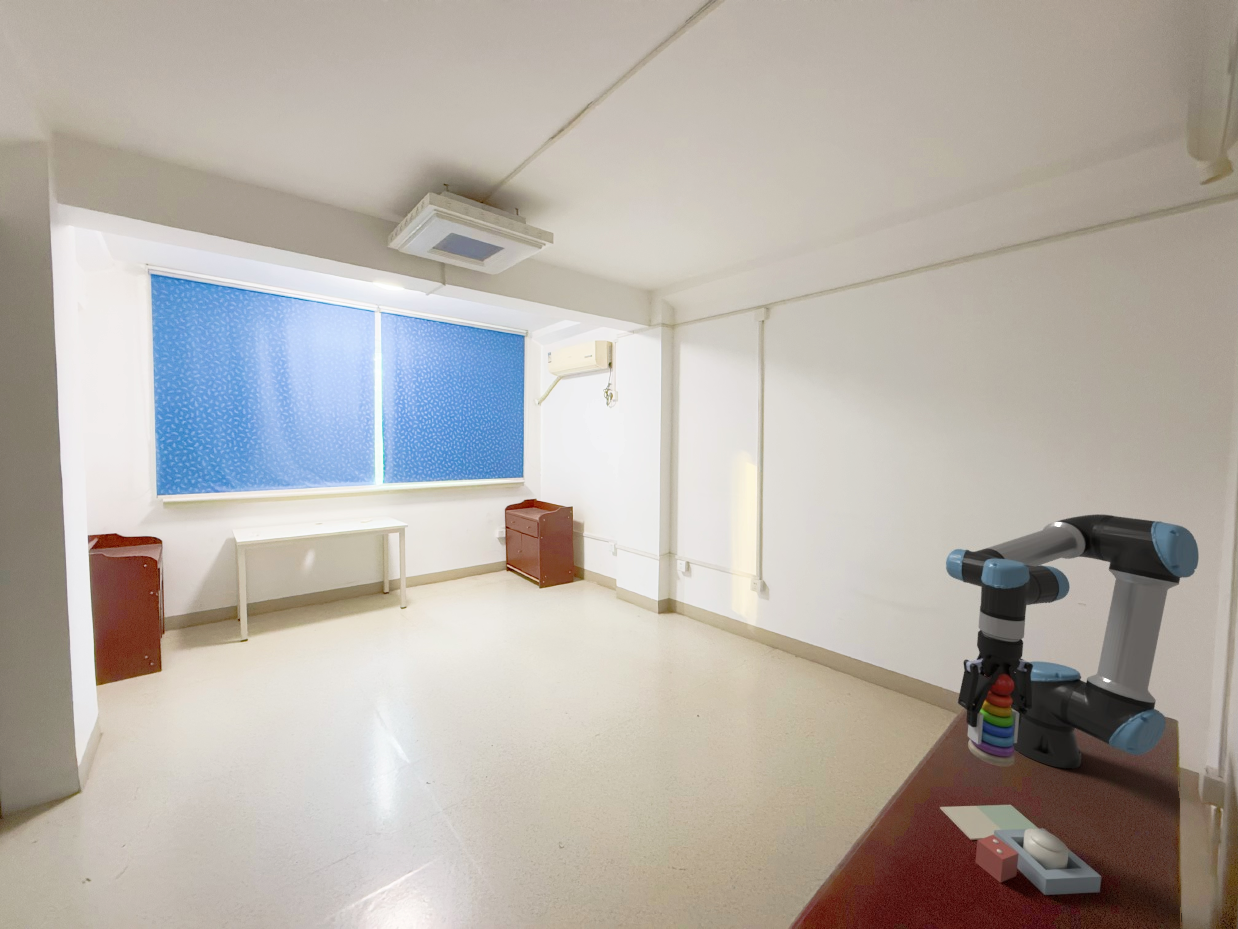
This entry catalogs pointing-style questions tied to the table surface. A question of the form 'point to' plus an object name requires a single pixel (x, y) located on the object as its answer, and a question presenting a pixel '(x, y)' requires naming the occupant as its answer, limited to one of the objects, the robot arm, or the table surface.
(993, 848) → the pink rectangular block
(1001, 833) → the dome base
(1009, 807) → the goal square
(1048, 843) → the dome button
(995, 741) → the stacking toy
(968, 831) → the square
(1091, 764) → the table surface
